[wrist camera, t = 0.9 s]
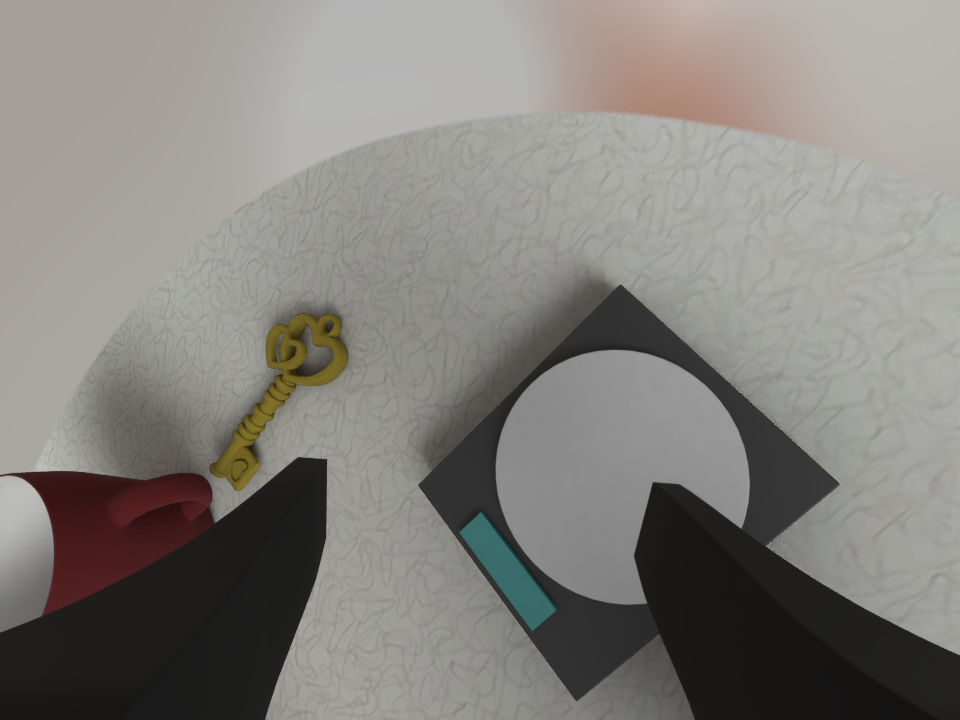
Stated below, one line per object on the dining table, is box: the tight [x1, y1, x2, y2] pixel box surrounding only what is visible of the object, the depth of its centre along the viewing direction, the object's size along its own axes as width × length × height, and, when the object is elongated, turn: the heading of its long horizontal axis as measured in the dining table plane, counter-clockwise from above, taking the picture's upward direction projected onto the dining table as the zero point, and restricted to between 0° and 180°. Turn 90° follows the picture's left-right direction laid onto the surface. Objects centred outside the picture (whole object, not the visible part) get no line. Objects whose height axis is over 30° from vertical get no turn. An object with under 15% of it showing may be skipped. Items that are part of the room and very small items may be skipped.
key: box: [210, 313, 348, 491], centre depth 32 cm, size 12×1×5 cm
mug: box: [0, 471, 214, 632], centre depth 29 cm, size 11×8×10 cm
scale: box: [418, 285, 840, 701], centre depth 23 cm, size 11×13×2 cm
